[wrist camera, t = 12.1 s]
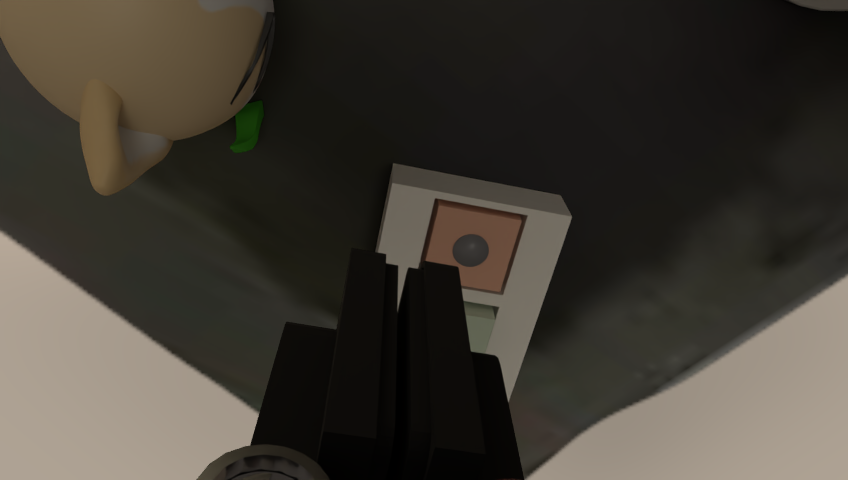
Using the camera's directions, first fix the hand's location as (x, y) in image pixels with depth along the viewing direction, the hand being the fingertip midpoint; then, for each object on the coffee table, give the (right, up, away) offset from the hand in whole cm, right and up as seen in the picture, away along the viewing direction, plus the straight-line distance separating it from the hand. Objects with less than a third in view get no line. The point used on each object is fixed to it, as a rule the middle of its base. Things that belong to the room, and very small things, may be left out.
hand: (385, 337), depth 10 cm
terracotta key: (+3, +2, +28) cm, 29 cm away
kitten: (-10, +14, +23) cm, 29 cm away
